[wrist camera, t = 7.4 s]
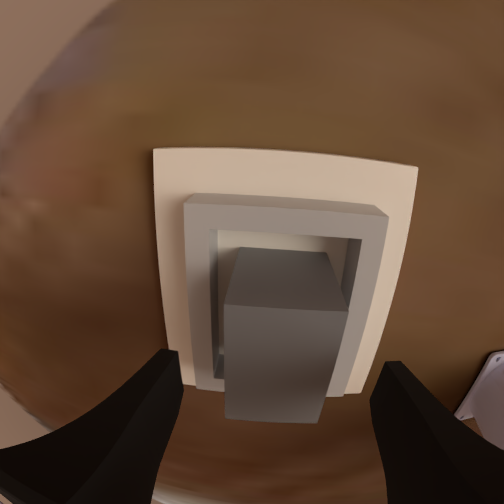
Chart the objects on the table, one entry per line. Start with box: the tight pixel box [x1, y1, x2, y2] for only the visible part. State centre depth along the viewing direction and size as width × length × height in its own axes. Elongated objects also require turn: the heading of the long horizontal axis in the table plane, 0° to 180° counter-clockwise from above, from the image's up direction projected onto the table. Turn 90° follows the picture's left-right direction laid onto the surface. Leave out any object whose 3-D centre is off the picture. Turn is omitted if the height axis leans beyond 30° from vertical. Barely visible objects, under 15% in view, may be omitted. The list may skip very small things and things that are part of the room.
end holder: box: [153, 147, 418, 397], centre depth 15 cm, size 12×14×3 cm
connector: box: [224, 247, 349, 423], centre depth 13 cm, size 4×6×5 cm, turn 177°
